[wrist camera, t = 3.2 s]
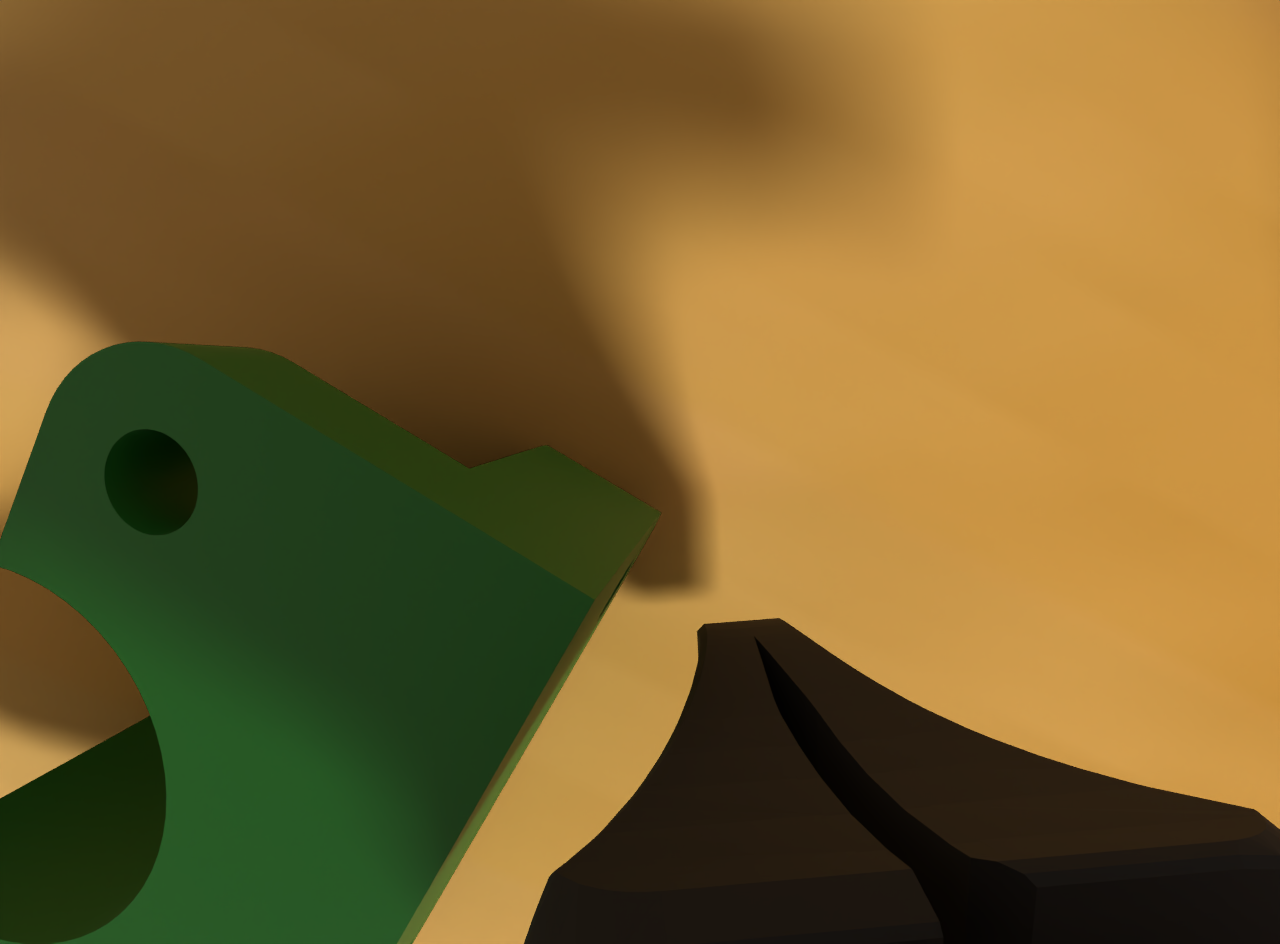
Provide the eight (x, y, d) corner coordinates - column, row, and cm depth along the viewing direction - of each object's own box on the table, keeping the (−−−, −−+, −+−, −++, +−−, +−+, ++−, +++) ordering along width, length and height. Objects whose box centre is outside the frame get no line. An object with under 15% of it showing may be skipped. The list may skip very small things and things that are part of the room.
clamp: (426, 413, 16) (201, 161, 7) (648, 546, 16) (687, 444, 7) (80, 910, 14) (-863, 1408, 5) (328, 1085, 13) (-233, 1977, 5)
